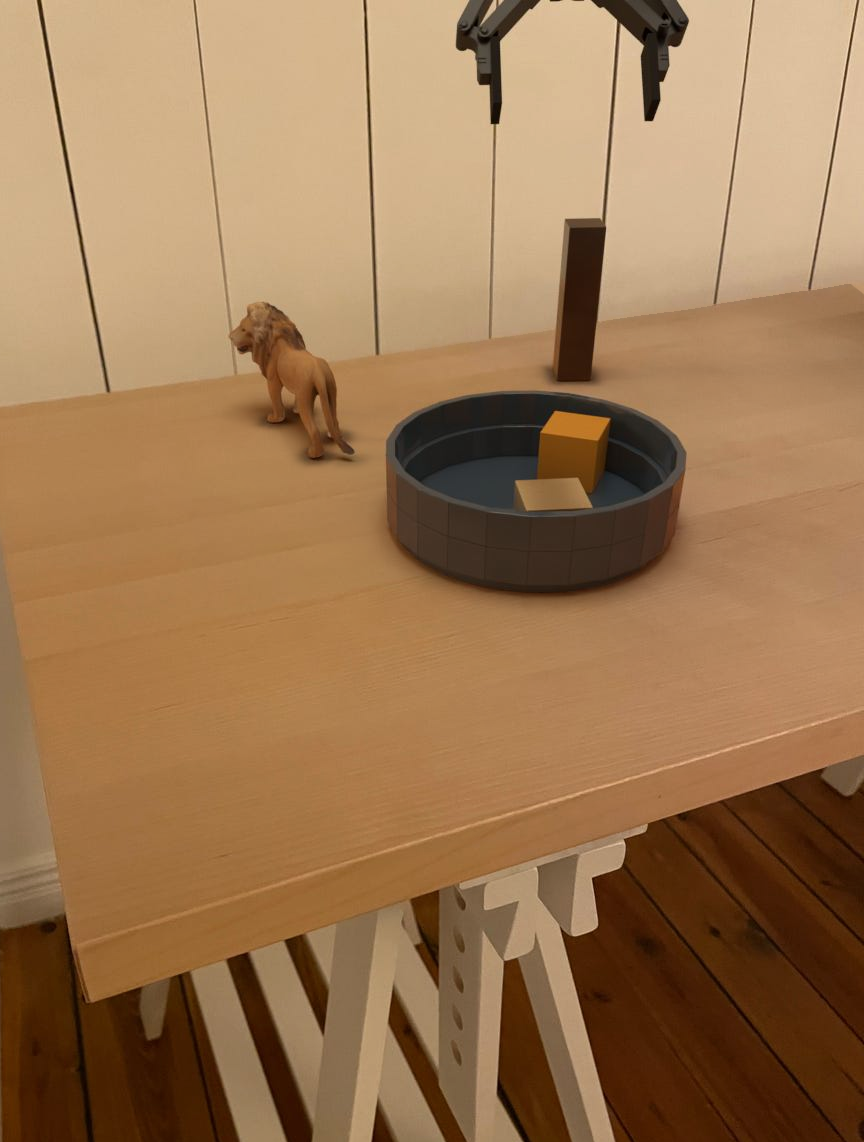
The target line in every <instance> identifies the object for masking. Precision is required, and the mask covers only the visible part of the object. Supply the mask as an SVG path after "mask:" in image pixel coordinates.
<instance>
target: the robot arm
mask: <svg viewBox="0 0 864 1142" xmlns="http://www.w3.org/2000/svg"><path fill="white" fill-rule="evenodd" d="M561 1H563V0H549V2H552V3H553V2H554V3H555V2H556V3H557V2H561ZM572 1H574V2H584V1H585V0H572ZM590 1H591V2H592V3H593V4H594V5H595V6H596V7H597V8H599V9H602V8H603V9H605V10H606V11H607V12H608V13H609V14H610V15H611V16H612V17H613V18H614V19H615V20H616V21H617V22H618V23H620V25H621V26H622V27H624V28H625V29H626V31H627V32H628V33H630V34H631V35H632V36H633V37H634V38H635V39H636V40H637V41H638V42H639V43H640V44H641V45H642V46H643V47H642V49H641V53H640V72H641V86H642V102H643V104H642V105H643V118H644V119H643V120H644V122H654V119H655V118H656V117H655V116H656V115H657V111H658V109H659V106H660V104H661V101H662V99H661V83H664V82H665V79H666V77H667V74H668V71H669V68H670V64H671V63H670V52H669V51H670V49H669V48H670V47H672V48H679V47H680V46H681V44H682V42H683V39H684V37H685V35H686V31H687V30H688V29H687V28H688V26H689V23H690V19H689V17H688V15H687V14H686V12H685V11H684V9H683V8H682V6H681V4H680V3H679V1H678V0H590ZM493 2H494V0H468V2H467V4H466V6H465V8H464V10H463V12H462V13H461V15H460V17H459V18H458V21H457V23H456V33H455V48H456V50H458V51H459V52H465V51H467V50H469V51H472V52H473V53H474V59H475V62H476V82H477V83H478V85H479V86H489V111H490V112H489V115H490V117H489V119H490V125H500V121H501V115H502V114H501V113H502V106H503V89H502V88H503V87H502V86H503V85H502V84H503V83H502V58H501V41H502V40H503V39H504V38H505V37H506V35H508V34H509V32H510V31H512V29H513V28H514V27H515V26H516V25H517V24H518V23H519V22H520V20H521V19H522V18H524V16H525V15H526V14H527V12H528V11H530V10H533V9H534V8H535V7H536V6H537V5H538V4H539V3H540V2H541V0H502V1H501V2H500V4H499V5H498V6H497V7H496V8H495V9H494V10H493V12H492V13H491V14H490V15H489V16H488V17H487V18H486V19H485V17H486V15H487V14H488V11H489V10H490V8H491V6H492V4H493Z"/></svg>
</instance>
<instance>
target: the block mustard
mask: <svg viewBox="0 0 864 1142" xmlns="http://www.w3.org/2000/svg"><path fill="white" fill-rule="evenodd" d="M610 420H611V419H610V418H604V417H597V416H589V415H582V414H574V413H567V412H560V411H555V412H554V413H553V415H552V416H551V418H550V419H549V421H548V422H547V424H546V425H545V426H544V428H543V429H542V431H541V432H540V444H539V458H538V471H537V480H539V479H561V478H578V479H579V481H580V483H581V485H582V487H583V489H584V491H585V493H591V494H592V493H593V491H594V489H595V487H596V485H597V484H598V482H599V480H600V478H601V476H602V474H603V472H604V470H605V463H606V454H607V446H608V437H609V429H610Z"/></svg>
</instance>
